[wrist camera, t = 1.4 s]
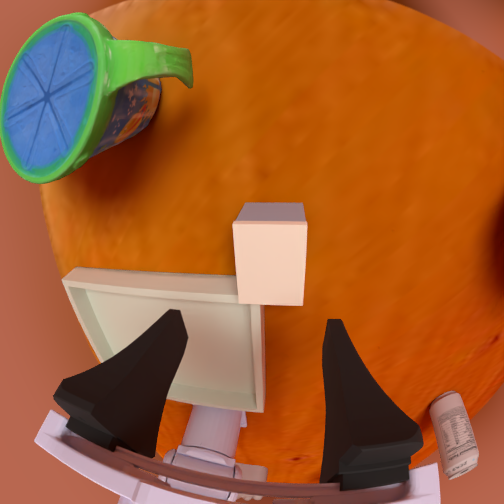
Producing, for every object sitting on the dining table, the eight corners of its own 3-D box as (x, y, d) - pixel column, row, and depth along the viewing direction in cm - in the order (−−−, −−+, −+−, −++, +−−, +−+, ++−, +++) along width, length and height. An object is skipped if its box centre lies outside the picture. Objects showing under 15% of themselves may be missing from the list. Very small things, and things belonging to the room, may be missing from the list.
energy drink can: (424, 412, 33) (439, 484, 19) (433, 394, 30) (454, 474, 17) (452, 403, 31) (470, 471, 18) (463, 384, 29) (487, 458, 16)
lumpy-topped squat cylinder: (269, 466, 48) (265, 497, 40) (264, 478, 53) (261, 503, 46) (225, 460, 49) (218, 490, 41) (227, 473, 54) (221, 498, 47)
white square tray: (265, 394, 32) (263, 412, 30) (122, 371, 35) (114, 385, 33) (263, 276, 24) (259, 296, 21) (76, 266, 27) (61, 279, 24)
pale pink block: (301, 270, 23) (302, 305, 19) (248, 269, 24) (238, 303, 20) (303, 202, 21) (307, 225, 16) (244, 201, 21) (232, 224, 17)
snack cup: (217, 29, 15) (162, -29, 6) (211, 153, 20) (148, 181, 11) (68, 64, 17) (-11, 62, 7) (67, 161, 21) (-11, 191, 12)
